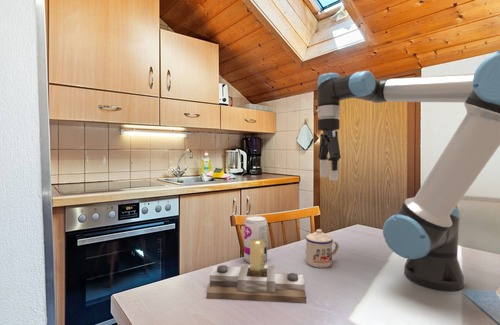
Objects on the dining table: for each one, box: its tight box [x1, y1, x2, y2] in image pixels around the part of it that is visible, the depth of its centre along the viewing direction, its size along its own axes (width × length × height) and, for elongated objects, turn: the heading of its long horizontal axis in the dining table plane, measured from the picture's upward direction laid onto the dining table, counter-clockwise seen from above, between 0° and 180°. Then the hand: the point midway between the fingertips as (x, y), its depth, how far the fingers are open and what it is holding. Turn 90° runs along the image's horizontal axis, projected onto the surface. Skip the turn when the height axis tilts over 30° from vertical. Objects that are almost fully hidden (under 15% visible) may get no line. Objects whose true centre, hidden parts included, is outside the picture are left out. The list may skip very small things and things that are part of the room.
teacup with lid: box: [305, 228, 340, 269], centre depth 95 cm, size 12×9×12 cm
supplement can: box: [243, 215, 268, 264], centre depth 97 cm, size 8×8×15 cm
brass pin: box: [249, 239, 265, 277], centre depth 77 cm, size 4×4×12 cm
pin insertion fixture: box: [206, 263, 307, 304], centre depth 78 cm, size 26×13×6 cm, turn 85°
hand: (328, 178), depth 98 cm, fingers open, 13 cm apart
